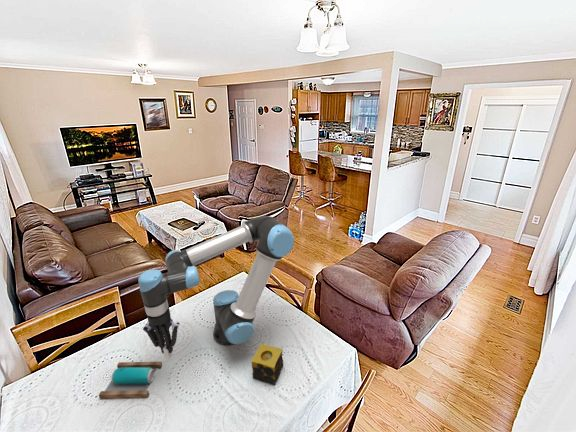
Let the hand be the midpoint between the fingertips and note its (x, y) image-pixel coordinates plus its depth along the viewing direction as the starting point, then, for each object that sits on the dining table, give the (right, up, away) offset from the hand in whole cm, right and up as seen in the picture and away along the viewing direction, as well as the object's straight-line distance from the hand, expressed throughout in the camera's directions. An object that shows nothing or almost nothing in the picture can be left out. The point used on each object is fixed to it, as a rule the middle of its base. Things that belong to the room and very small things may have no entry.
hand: (169, 358), depth 111 cm
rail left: (-16, -14, -2) cm, 22 cm away
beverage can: (-8, -9, +3) cm, 12 cm away
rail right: (-16, -9, +10) cm, 21 cm away
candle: (+39, -10, +8) cm, 41 cm away
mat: (-17, -12, +4) cm, 21 cm away
